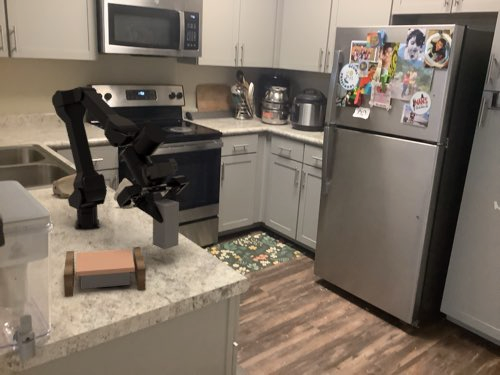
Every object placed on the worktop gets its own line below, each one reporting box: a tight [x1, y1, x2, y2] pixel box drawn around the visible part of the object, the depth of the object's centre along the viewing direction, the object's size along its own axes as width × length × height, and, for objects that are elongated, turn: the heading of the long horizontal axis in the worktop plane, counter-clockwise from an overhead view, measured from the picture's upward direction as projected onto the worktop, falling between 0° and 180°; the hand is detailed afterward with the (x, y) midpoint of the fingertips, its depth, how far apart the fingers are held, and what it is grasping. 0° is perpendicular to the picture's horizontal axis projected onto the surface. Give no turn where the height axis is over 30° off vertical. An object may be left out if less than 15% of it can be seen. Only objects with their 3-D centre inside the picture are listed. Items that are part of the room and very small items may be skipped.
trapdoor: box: [74, 248, 135, 290], centre depth 103 cm, size 10×12×4 cm
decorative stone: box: [52, 173, 77, 199], centre depth 161 cm, size 8×14×8 cm, turn 120°
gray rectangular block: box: [152, 199, 180, 250], centre depth 113 cm, size 4×4×11 cm
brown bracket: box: [63, 246, 147, 298], centre depth 103 cm, size 12×16×5 cm
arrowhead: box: [113, 177, 135, 209], centre depth 151 cm, size 8×3×10 cm, turn 113°
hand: (169, 220), depth 112 cm, fingers closed on gray rectangular block, 4 cm apart
